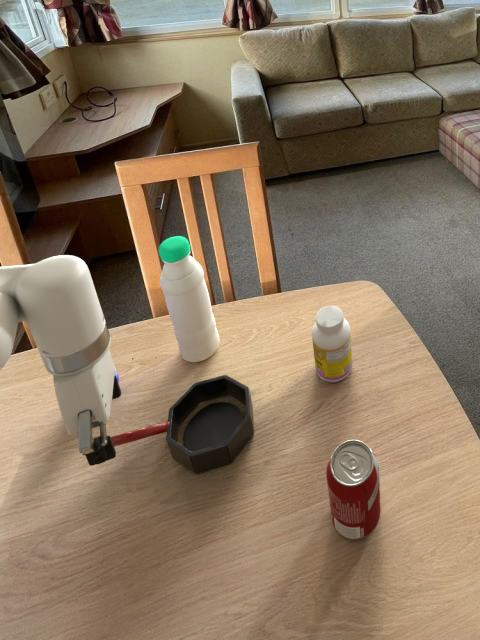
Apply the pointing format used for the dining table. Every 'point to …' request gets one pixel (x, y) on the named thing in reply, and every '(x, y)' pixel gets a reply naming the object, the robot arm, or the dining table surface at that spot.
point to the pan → (204, 426)
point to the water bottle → (187, 301)
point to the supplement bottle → (332, 344)
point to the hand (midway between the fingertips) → (106, 427)
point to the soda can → (354, 489)
